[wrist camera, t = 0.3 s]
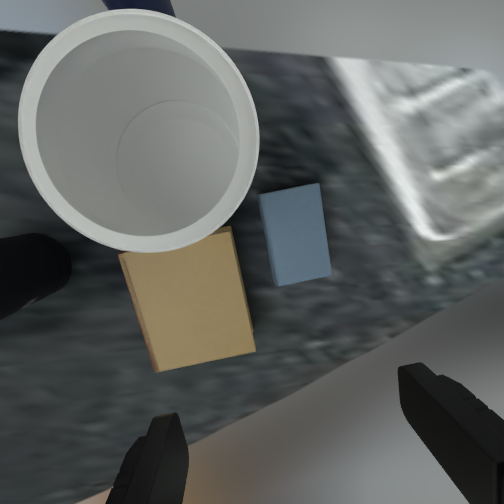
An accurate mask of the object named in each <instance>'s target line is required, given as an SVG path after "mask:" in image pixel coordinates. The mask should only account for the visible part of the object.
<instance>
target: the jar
mask: <svg viewBox="0 0 504 504" xmlns="http://www.w3.org/2000/svg"><path fill="white" fill-rule="evenodd" d="M18 132H19V141H20V146H21V151H22V155H23V158H24V162H25V165H26V167H27V170H28V172H29V174H30V177H31V179H32V181H33V183H34V184H35V186H36V188H37V190H38V191H39V193H40V194H41V196H42V197H43V199H44V200H45V201H46V202H47V204H48V205H49V206H50V207H51V208H52V210H53V211H54V212H55V213H56V214H57V215H58V216H59V217H60V218H61V219H62V220H64V221H65V222H66V223H67V224H68V225H70V226H71V227H72V228H74V229H75V230H77V231H78V232H80V233H81V234H83V235H84V236H86V237H88V238H90V239H92V240H94V241H96V242H98V243H101V244H103V245H106V246H109V247H112V248H115V249H119V250H124V251H129V252H138V253H157V252H166V251H171V250H176V249H179V248H183V247H186V246H188V245H191V244H193V243H195V242H198V241H200V240H201V239H203V238H205V237H207V236H208V235H210V234H211V233H213V232H214V231H215V230H217V229H218V228H219V227H220V226H222V225H223V224H224V223H225V222H226V221H227V220H228V219H229V218H230V217H231V216H232V214H233V213H234V212H235V211H236V210H237V208H238V207H239V205H240V204H241V202H242V201H243V199H244V197H245V196H246V194H247V192H248V190H249V187H250V185H251V183H252V180H253V177H254V174H255V170H256V166H257V161H258V155H259V125H258V118H257V113H256V109H255V105H254V102H253V99H252V96H251V93H250V91H249V89H248V86H247V84H246V82H245V80H244V78H243V77H242V75H241V73H240V72H239V70H238V68H237V67H236V65H235V64H234V63H233V61H232V60H231V59H230V58H229V56H228V55H227V54H226V53H225V52H224V51H223V50H222V49H221V48H220V47H219V46H218V45H217V44H216V43H215V42H214V41H213V40H212V39H211V38H209V37H208V36H207V35H205V34H204V33H203V32H201V31H200V30H198V29H197V28H195V27H193V26H192V25H190V24H188V23H186V22H184V21H181V20H179V19H177V18H175V17H172V16H169V15H166V14H163V13H159V12H154V11H149V10H141V9H118V10H111V11H106V12H101V13H98V14H94V15H92V16H89V17H86V18H84V19H82V20H80V21H78V22H76V23H74V24H72V25H71V26H69V27H67V28H66V29H64V30H63V31H62V32H61V33H59V34H58V35H57V36H56V37H55V38H53V39H52V40H51V41H50V42H49V43H48V44H47V46H46V47H45V48H44V49H43V50H42V52H41V53H40V54H39V56H38V57H37V59H36V60H35V62H34V64H33V65H32V67H31V69H30V71H29V73H28V75H27V78H26V80H25V83H24V86H23V90H22V93H21V98H20V103H19V112H18Z"/></svg>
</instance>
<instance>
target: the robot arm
mask: <svg viewBox="0 0 504 504" xmlns="http://www.w3.org/2000/svg"><path fill="white" fill-rule="evenodd" d="M398 381H399V394H400V404H401V408H402V411H403V413H404V415H405V417H406V419H407V421H408V422H409V424H410V425H411V426H412V428H413V429H414V430H415V432H416V433H417V435H418V436H419V437H420V439H421V440H422V441H423V442H424V444H425V445H426V446H427V448H428V449H429V450H430V452H431V453H432V454H433V456H434V457H435V458H436V460H437V461H438V462H439V464H440V465H441V466H442V468H443V469H444V470H445V472H446V473H447V474H448V476H449V477H450V478H451V480H452V481H453V482H454V484H455V485H456V486H457V488H458V489H459V490H460V491H461V493H462V494H463V495H464V497H465V498H466V499H467V501H468V502H469V503H470V504H504V420H503V419H502V418H501V417H500V416H498V415H497V414H496V413H495V412H494V411H493V410H490V409H489V408H488V406H487V405H485V404H484V403H483V402H482V401H481V400H479V399H476V397H475V395H473V394H472V393H471V392H470V391H469V390H468V389H466V388H465V387H464V386H463V385H462V384H460V383H458V382H456V381H454V380H453V379H451V378H449V377H446V376H444V375H438V376H437V375H436V374H434V373H433V372H432V371H431V370H430V369H429V368H428V367H427V366H426V365H424V364H423V363H421V362H419V363H414V364H410V365H404V366H400V367H399V368H398ZM188 467H189V452H188V446H187V443H186V439H185V436H184V433H183V429H182V426H181V423H180V419H179V416H178V414H177V413H170V414H165V415H161V416H156V417H154V418H153V420H152V422H151V425H150V427H149V430H148V433H147V435H146V436H142V437H139V438H138V439H137V440H136V442H135V443H134V444H133V445H132V447H131V448H130V449H129V451H128V452H127V454H126V456H125V458H124V461H123V463H122V465H121V468H120V473H118V475H117V477H116V480H115V482H114V484H113V485H114V486H113V488H112V489H111V491H110V494H109V496H108V499H107V501H106V503H105V504H182V502H183V496H184V491H185V485H186V478H187V473H188Z"/></svg>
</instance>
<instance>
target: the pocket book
mask: <svg viewBox="0 0 504 504" xmlns="http://www.w3.org/2000/svg"><path fill="white" fill-rule="evenodd" d="M257 199H258V204H259V209H260V214H261V220H262V225H263V230H264V236H265V241H266V246H267V251H268V257H269V262H270V267H271V273H272V278H273V280H274V282H275V285H276V287H278V286H283V285H288V284H293V283H297V282H302V281H307V280H312V279H317V278H321V277H326V276H331V275H332V272H331V265H330V258H329V250H328V243H327V236H326V229H325V222H324V214H323V207H322V200H321V193H320V185H319V183H316V184H308V185H303V186H298V187H293V188H288V189H284V190H279V191H274V192H269V193H264V194H259V195H257Z"/></svg>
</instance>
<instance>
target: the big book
mask: <svg viewBox="0 0 504 504" xmlns="http://www.w3.org/2000/svg"><path fill="white" fill-rule="evenodd" d="M118 257H119V261H120V264H121V267H122V270H123V273H124V276H125V280H126V283H127V286H128V289H129V292H130V295H131V299H132V302H133V305H134V308H135V311H136V315H137V318H138V321H139V324H140V327H141V330H142V334H143V337H144V340H145V343H146V346H147V350H148V353H149V356H150V359H151V362H152V365H153V369H154V372H155V373H156V372H161V371H165V370H170V369H175V368H180V367H184V366H189V365H194V364H199V363H203V362H208V361H213V360H217V359H222V358H227V357H232V356H236V355H241V354H246V353H251V352H255V351H256V347H255V342H254V338H253V325H252V321H251V316H250V311H249V307H248V302H247V297H246V293H245V288H244V283H243V279H242V274H241V270H240V265H239V260H238V256H237V251H236V246H235V242H234V237H233V232H232V228H231V226H225V227H221V228H218V229H217V230H215V231H214V232H213V233H211V234H210V235H208V236H207V237H205V238H203V239H201V240H200V241H198V242H195V243H193V244H191V245H188V246H186V247H183V248H179V249H176V250H171V251H166V252H157V253H138V252H129V251H123V252H121V253H119V254H118Z"/></svg>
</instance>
